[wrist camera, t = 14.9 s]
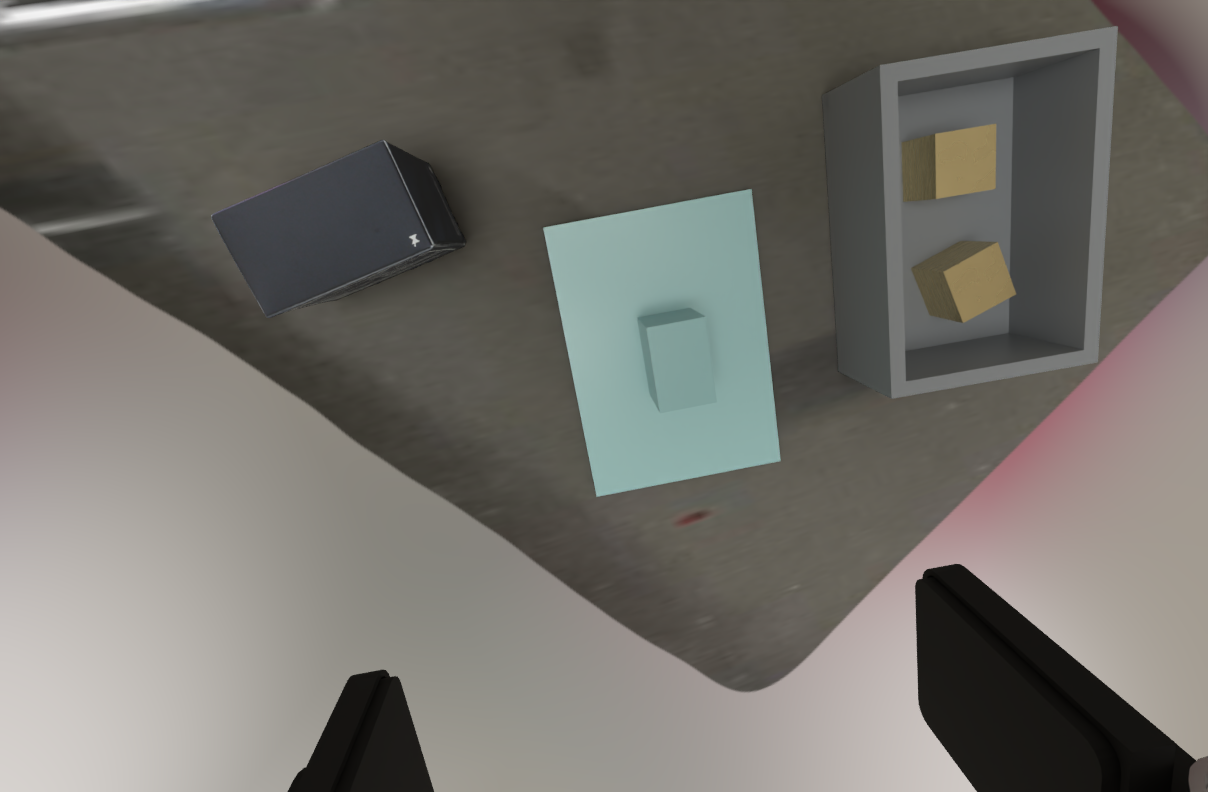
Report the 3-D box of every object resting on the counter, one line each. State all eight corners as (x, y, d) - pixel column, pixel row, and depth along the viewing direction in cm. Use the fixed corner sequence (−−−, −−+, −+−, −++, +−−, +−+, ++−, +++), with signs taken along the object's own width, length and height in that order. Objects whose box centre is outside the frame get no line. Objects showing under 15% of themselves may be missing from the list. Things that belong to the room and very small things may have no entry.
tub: (821, 95, 42) (879, 65, 35) (1017, 62, 43) (1117, 25, 35) (838, 371, 48) (891, 398, 40) (1011, 341, 48) (1097, 362, 40)
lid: (543, 227, 44) (541, 227, 38) (746, 190, 44) (775, 183, 38) (596, 490, 50) (600, 525, 44) (775, 455, 50) (804, 486, 44)
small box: (427, 155, 42) (385, 130, 32) (469, 245, 44) (441, 250, 33) (288, 215, 42) (202, 210, 32) (334, 302, 44) (267, 324, 34)
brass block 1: (901, 142, 43) (935, 133, 39) (957, 133, 43) (996, 123, 39) (903, 201, 44) (936, 199, 40) (957, 192, 44) (995, 188, 40)
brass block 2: (910, 268, 45) (943, 271, 41) (960, 240, 45) (997, 241, 41) (929, 315, 46) (963, 322, 42) (978, 288, 46) (1016, 294, 42)
